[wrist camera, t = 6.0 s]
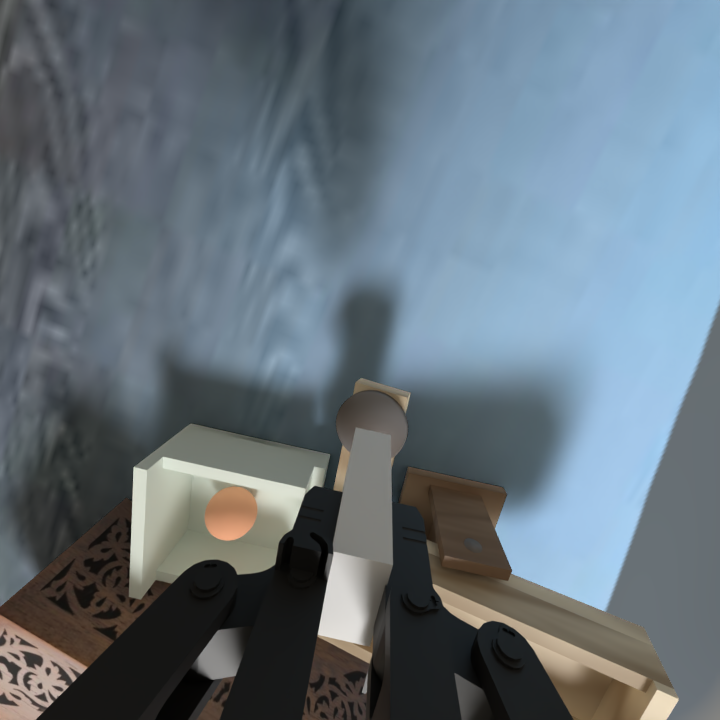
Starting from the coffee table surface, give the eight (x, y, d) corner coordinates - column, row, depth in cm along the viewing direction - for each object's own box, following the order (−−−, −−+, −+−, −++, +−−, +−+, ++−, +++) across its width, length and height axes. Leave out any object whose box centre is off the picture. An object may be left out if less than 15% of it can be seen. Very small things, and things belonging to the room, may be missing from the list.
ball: (256, 474, 27) (206, 478, 25) (263, 506, 24) (206, 511, 22) (251, 513, 27) (202, 518, 26) (257, 548, 24) (202, 556, 23)
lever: (353, 375, 21) (330, 391, 17) (720, 484, 16) (780, 532, 13) (310, 584, 25) (285, 627, 21) (594, 720, 20) (616, 802, 17)
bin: (190, 423, 26) (133, 467, 20) (330, 454, 26) (313, 507, 20) (181, 530, 28) (128, 596, 23) (309, 559, 28) (289, 634, 22)
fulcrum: (407, 466, 25) (415, 539, 18) (503, 487, 25) (547, 569, 18) (377, 579, 28) (374, 680, 21) (464, 599, 28) (489, 708, 21)
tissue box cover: (381, 661, 31) (379, 842, 21) (290, 745, 34) (252, 933, 24) (128, 495, 28) (-6, 611, 19) (58, 602, 32) (-86, 747, 22)
